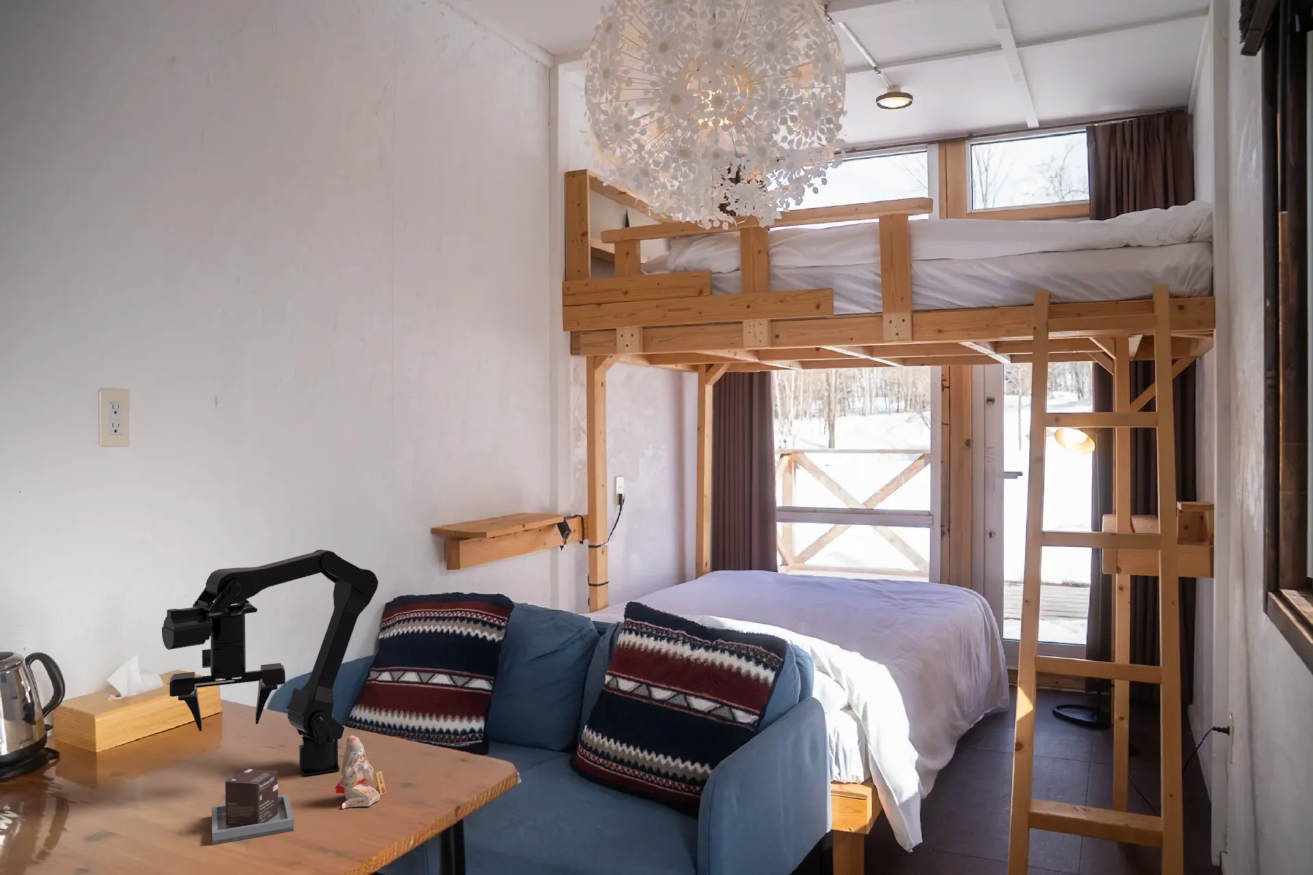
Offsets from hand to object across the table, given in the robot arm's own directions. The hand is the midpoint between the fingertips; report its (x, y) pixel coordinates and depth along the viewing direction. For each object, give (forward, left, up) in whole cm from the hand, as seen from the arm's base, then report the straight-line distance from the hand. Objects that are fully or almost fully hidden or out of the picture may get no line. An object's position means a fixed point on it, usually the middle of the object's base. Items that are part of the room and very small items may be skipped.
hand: (228, 726), depth 171 cm
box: (-3, +16, -12) cm, 20 cm away
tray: (-3, +16, -12) cm, 20 cm away
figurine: (-21, +14, -12) cm, 28 cm away
